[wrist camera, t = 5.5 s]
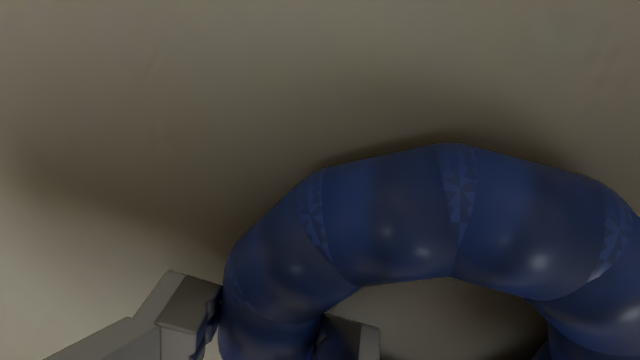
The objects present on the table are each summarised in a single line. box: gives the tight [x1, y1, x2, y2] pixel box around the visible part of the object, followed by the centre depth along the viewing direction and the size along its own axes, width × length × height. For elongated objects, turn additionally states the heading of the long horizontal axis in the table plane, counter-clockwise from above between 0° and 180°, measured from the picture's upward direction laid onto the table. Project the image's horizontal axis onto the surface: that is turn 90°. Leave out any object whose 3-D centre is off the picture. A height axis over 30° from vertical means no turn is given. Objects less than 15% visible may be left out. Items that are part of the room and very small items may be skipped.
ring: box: [218, 143, 640, 360], centre depth 10 cm, size 12×12×3 cm
